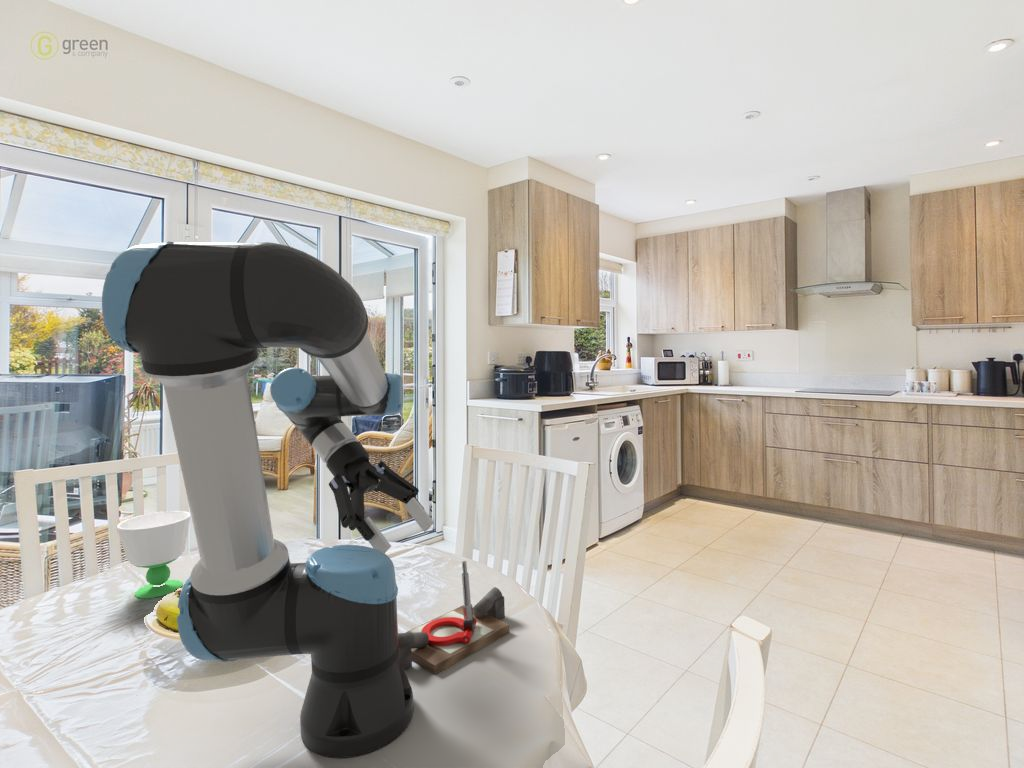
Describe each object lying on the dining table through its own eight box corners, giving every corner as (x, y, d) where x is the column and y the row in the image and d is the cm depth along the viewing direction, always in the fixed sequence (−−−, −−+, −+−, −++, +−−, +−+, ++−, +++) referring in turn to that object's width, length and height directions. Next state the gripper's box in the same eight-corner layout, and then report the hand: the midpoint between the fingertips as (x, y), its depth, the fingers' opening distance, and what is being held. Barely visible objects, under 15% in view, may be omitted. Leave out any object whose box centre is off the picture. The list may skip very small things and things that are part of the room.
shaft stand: (416, 685, 82) (415, 649, 82) (373, 656, 91) (372, 623, 90) (522, 624, 100) (521, 595, 100) (478, 605, 108) (477, 577, 108)
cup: (117, 589, 120) (112, 519, 119) (187, 571, 129) (183, 506, 128) (125, 610, 110) (120, 534, 109) (201, 589, 119) (197, 519, 118)
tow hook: (415, 648, 90) (469, 647, 89) (409, 572, 90) (463, 571, 89) (428, 623, 99) (478, 622, 98) (423, 554, 98) (473, 552, 97)
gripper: (373, 453, 116) (434, 530, 111) (280, 479, 93) (351, 577, 88) (392, 430, 114) (455, 507, 108) (302, 450, 91) (376, 549, 86)
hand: (409, 539), depth 98 cm, fingers open, 13 cm apart
